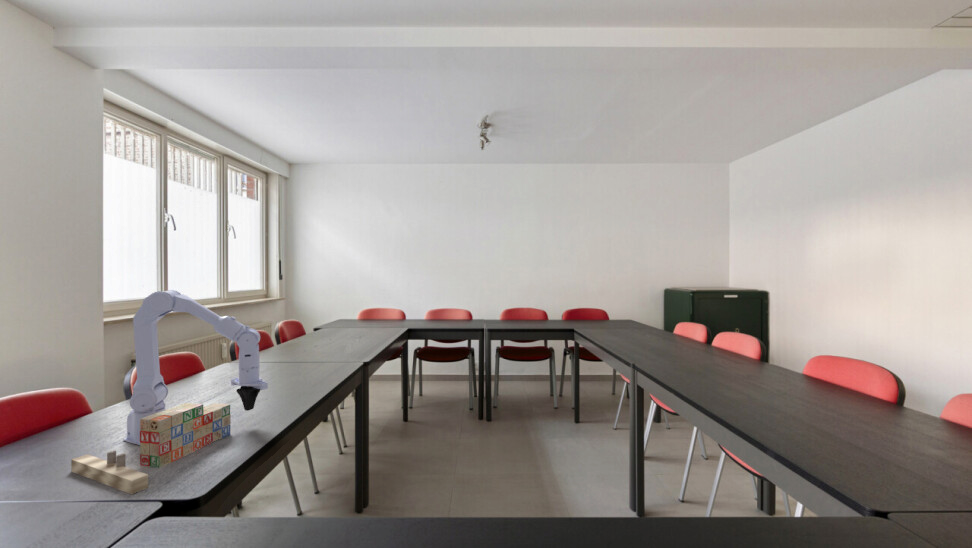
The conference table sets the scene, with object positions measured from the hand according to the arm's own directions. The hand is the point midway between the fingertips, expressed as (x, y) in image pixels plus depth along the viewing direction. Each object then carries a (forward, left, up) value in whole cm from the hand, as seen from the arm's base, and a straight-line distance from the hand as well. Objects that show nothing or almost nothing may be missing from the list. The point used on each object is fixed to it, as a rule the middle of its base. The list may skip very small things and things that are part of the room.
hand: (249, 409), depth 125 cm
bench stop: (0, -35, -5) cm, 36 cm away
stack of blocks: (0, -18, -6) cm, 18 cm away
